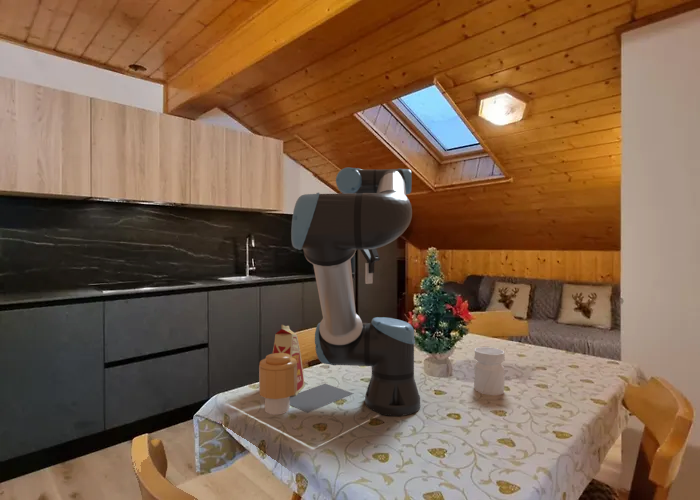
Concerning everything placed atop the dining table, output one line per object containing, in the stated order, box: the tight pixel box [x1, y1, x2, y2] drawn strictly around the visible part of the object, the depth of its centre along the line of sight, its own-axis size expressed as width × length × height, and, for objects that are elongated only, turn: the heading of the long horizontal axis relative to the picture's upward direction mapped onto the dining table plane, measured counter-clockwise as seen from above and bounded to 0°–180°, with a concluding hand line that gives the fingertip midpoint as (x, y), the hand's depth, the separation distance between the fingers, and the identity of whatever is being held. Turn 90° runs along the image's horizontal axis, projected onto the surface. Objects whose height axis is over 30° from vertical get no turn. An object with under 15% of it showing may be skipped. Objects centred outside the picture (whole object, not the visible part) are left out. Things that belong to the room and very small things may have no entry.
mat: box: [290, 383, 354, 414], centre depth 113 cm, size 12×18×1 cm, turn 138°
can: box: [264, 396, 291, 415], centre depth 104 cm, size 6×6×12 cm
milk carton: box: [271, 324, 306, 396], centre depth 119 cm, size 9×9×20 cm
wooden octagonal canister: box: [258, 353, 297, 399], centre depth 104 cm, size 10×10×9 cm
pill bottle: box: [473, 346, 506, 396], centre depth 120 cm, size 9×9×12 cm
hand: (352, 282), depth 129 cm, fingers open, 13 cm apart
